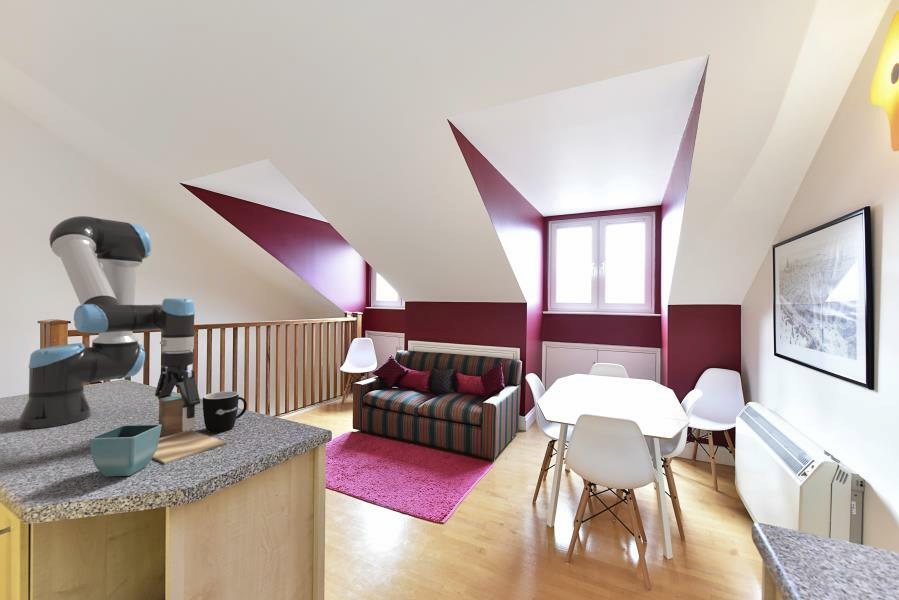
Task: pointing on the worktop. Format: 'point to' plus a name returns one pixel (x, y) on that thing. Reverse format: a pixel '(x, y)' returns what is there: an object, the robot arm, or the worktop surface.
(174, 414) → the block
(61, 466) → the worktop surface
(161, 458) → the mat
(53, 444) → the worktop surface
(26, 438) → the worktop surface
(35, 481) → the worktop surface
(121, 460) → the flower pot
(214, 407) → the mug
